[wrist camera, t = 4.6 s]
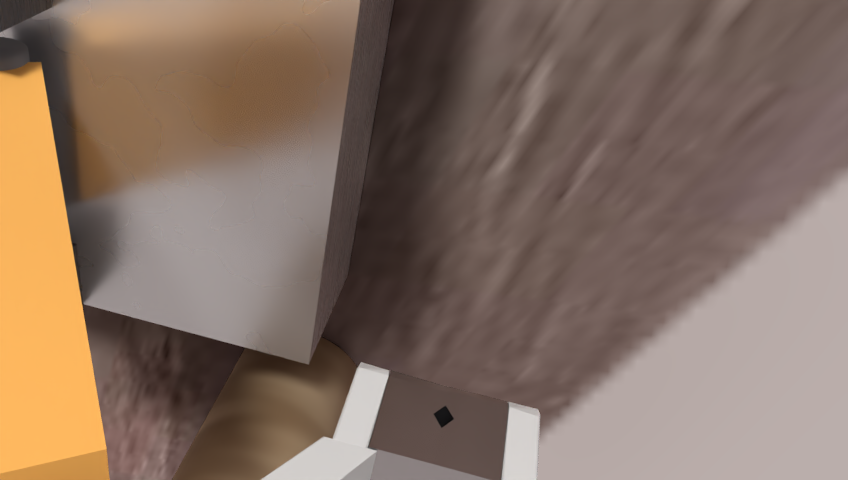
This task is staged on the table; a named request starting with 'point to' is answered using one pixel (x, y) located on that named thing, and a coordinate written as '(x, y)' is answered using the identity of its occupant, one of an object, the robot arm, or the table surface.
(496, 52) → the table surface
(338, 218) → the breaker box
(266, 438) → the oak post
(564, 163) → the table surface
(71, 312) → the lever
